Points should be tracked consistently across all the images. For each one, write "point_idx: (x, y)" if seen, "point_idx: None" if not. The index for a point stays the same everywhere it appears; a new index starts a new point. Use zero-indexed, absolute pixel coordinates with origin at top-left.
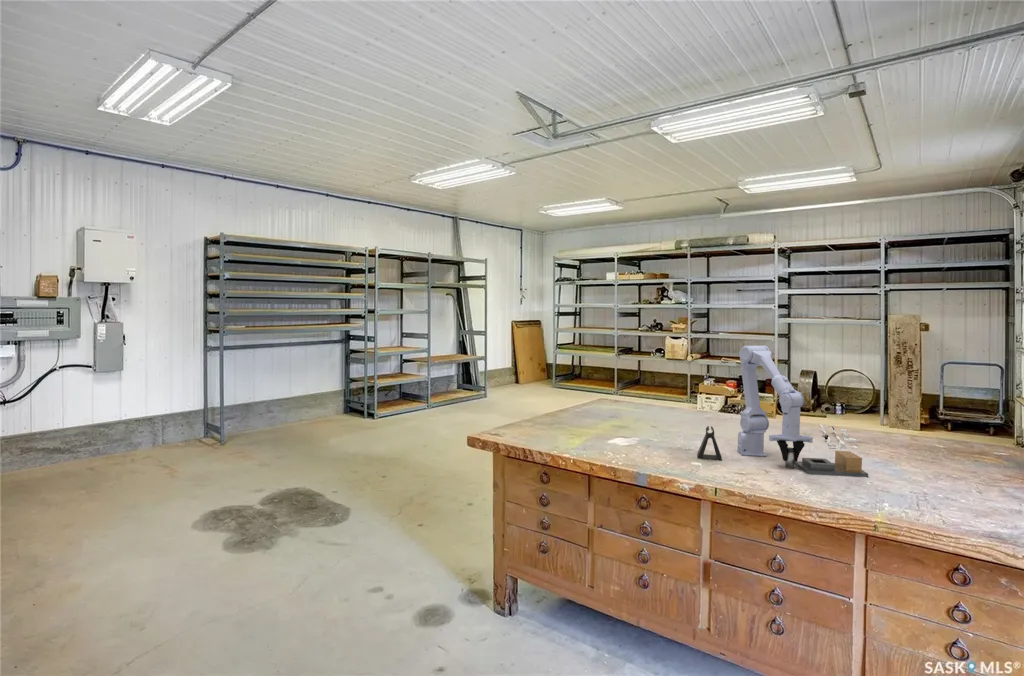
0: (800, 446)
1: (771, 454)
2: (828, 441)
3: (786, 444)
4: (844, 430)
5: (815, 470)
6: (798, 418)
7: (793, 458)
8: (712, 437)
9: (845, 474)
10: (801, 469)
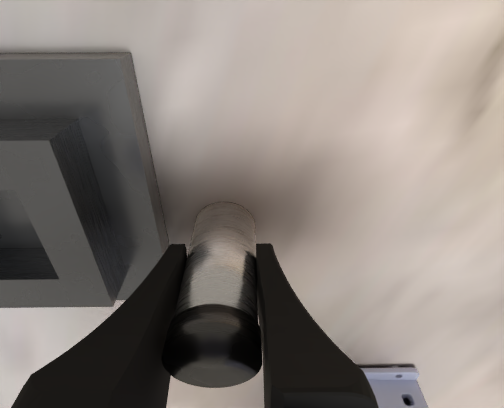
0: (86, 369)
1: (251, 391)
2: None
3: (301, 386)
4: None
5: (32, 85)
6: None
7: (197, 258)
8: None
9: None
10: (154, 174)
